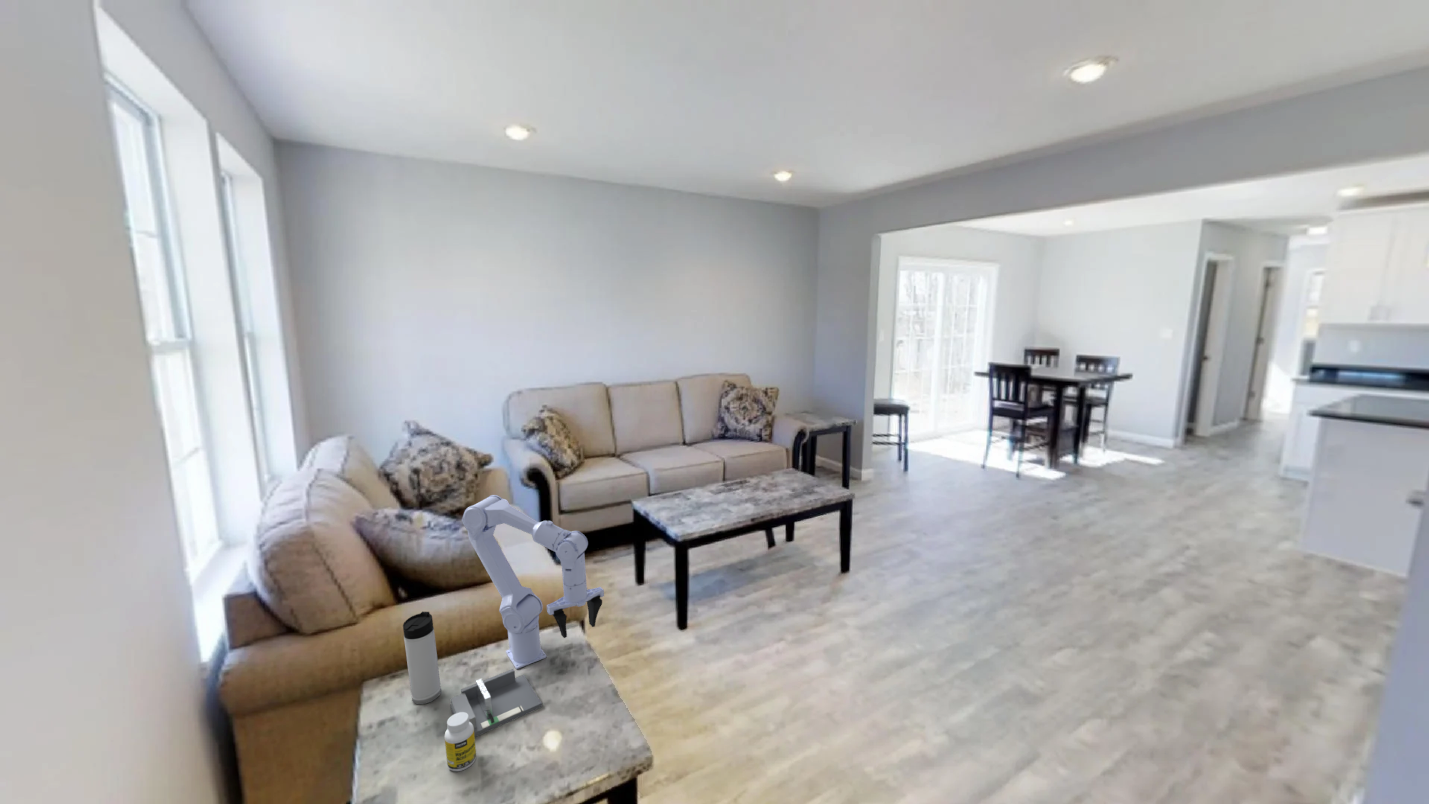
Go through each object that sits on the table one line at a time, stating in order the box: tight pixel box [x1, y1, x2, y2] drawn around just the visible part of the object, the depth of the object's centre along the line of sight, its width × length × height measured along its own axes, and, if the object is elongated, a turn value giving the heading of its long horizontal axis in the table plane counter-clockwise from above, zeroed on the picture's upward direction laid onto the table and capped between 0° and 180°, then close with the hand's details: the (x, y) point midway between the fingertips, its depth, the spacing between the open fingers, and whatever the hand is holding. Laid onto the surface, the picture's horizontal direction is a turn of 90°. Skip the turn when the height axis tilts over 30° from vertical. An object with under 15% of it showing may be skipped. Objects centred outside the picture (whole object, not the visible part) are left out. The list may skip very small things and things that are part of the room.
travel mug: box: [402, 611, 442, 705], centre depth 132 cm, size 6×7×20 cm
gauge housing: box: [449, 668, 543, 738], centre depth 128 cm, size 13×17×4 cm
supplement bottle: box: [444, 712, 477, 772], centre depth 112 cm, size 5×5×10 cm
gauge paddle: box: [475, 678, 494, 723], centre depth 125 cm, size 11×1×5 cm, turn 37°
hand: (578, 630), depth 142 cm, fingers open, 7 cm apart
